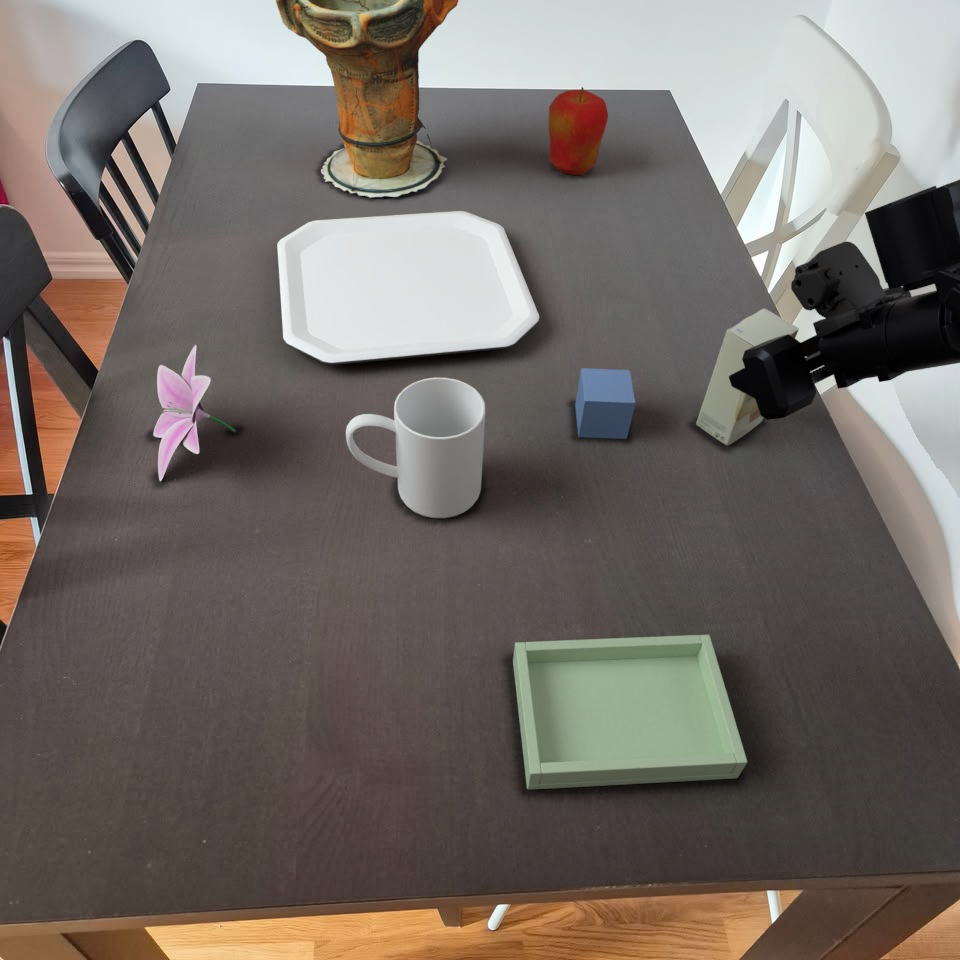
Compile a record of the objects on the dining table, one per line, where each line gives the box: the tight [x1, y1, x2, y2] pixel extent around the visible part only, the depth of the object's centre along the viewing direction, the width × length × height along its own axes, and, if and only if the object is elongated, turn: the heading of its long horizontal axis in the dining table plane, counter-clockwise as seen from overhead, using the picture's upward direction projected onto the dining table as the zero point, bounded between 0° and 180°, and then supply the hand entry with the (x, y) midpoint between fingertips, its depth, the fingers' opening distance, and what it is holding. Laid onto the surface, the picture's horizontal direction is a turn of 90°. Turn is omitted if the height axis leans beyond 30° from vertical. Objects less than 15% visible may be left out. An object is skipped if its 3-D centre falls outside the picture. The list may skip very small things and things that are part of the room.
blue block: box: [574, 367, 636, 440], centre depth 85 cm, size 5×5×5 cm
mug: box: [345, 377, 486, 519], centre depth 75 cm, size 12×8×10 cm, turn 99°
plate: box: [276, 210, 541, 366], centre depth 100 cm, size 29×29×2 cm
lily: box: [152, 344, 237, 482], centre depth 80 cm, size 12×12×10 cm
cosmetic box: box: [695, 308, 800, 446], centre depth 83 cm, size 6×4×12 cm
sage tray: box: [512, 634, 748, 791], centre depth 63 cm, size 16×11×3 cm
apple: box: [548, 86, 609, 176], centre depth 119 cm, size 9×8×12 cm
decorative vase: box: [275, 0, 459, 199], centre depth 111 cm, size 21×23×28 cm
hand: (765, 365), depth 80 cm, fingers open, 9 cm apart
